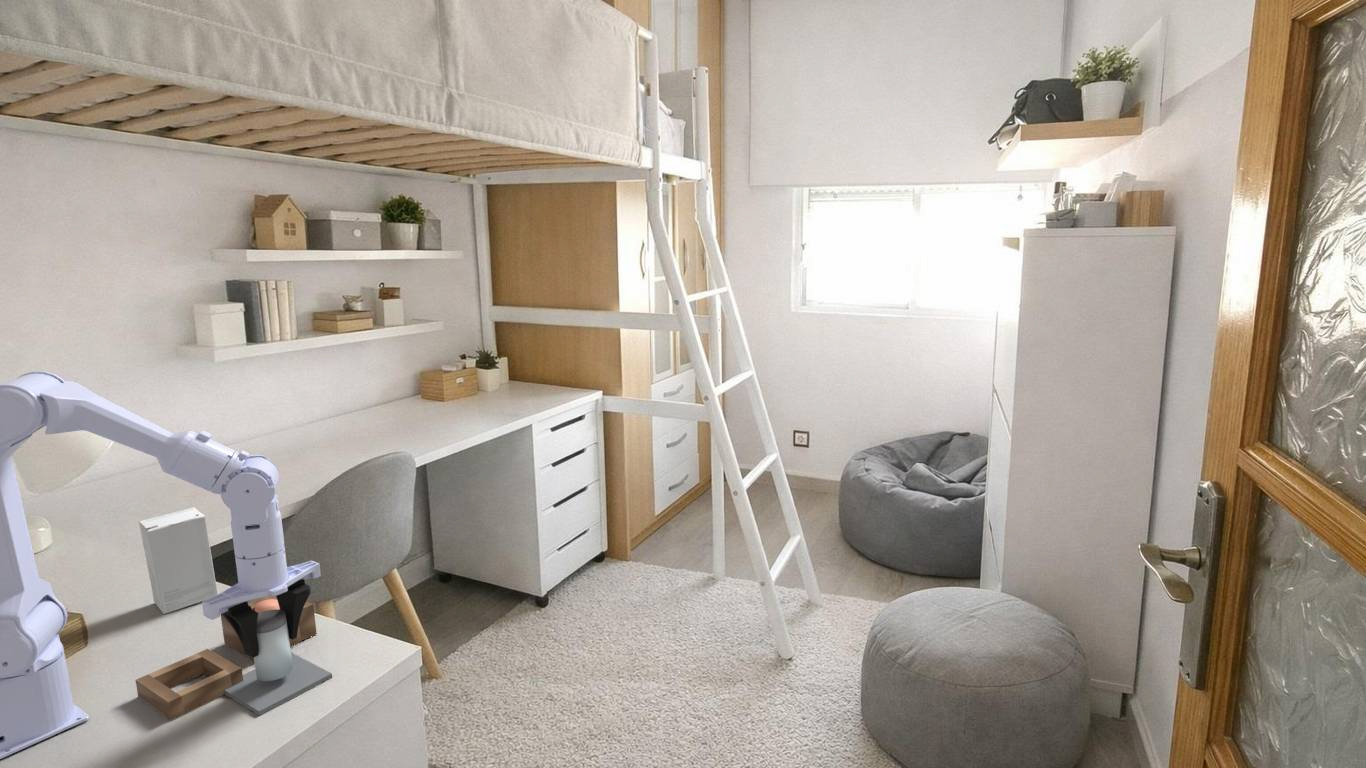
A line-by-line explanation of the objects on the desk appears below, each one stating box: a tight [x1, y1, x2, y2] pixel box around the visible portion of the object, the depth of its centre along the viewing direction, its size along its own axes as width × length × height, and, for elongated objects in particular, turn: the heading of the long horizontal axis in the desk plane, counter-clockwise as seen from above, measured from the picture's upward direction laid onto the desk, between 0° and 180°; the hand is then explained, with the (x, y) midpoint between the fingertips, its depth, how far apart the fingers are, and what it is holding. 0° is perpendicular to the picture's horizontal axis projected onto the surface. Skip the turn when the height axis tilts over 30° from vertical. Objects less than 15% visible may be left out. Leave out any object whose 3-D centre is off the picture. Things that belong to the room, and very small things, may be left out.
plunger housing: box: [220, 595, 317, 661], centre depth 115 cm, size 9×9×5 cm
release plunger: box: [255, 599, 280, 613], centre depth 114 cm, size 3×3×5 cm
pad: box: [224, 652, 333, 716], centre depth 104 cm, size 10×10×1 cm
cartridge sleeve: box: [135, 648, 244, 721], centre depth 102 cm, size 9×9×2 cm
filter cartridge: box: [253, 609, 293, 681], centre depth 103 cm, size 4×4×8 cm
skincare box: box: [138, 506, 219, 615], centre depth 126 cm, size 8×6×15 cm
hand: (271, 645), depth 103 cm, fingers open, 5 cm apart
